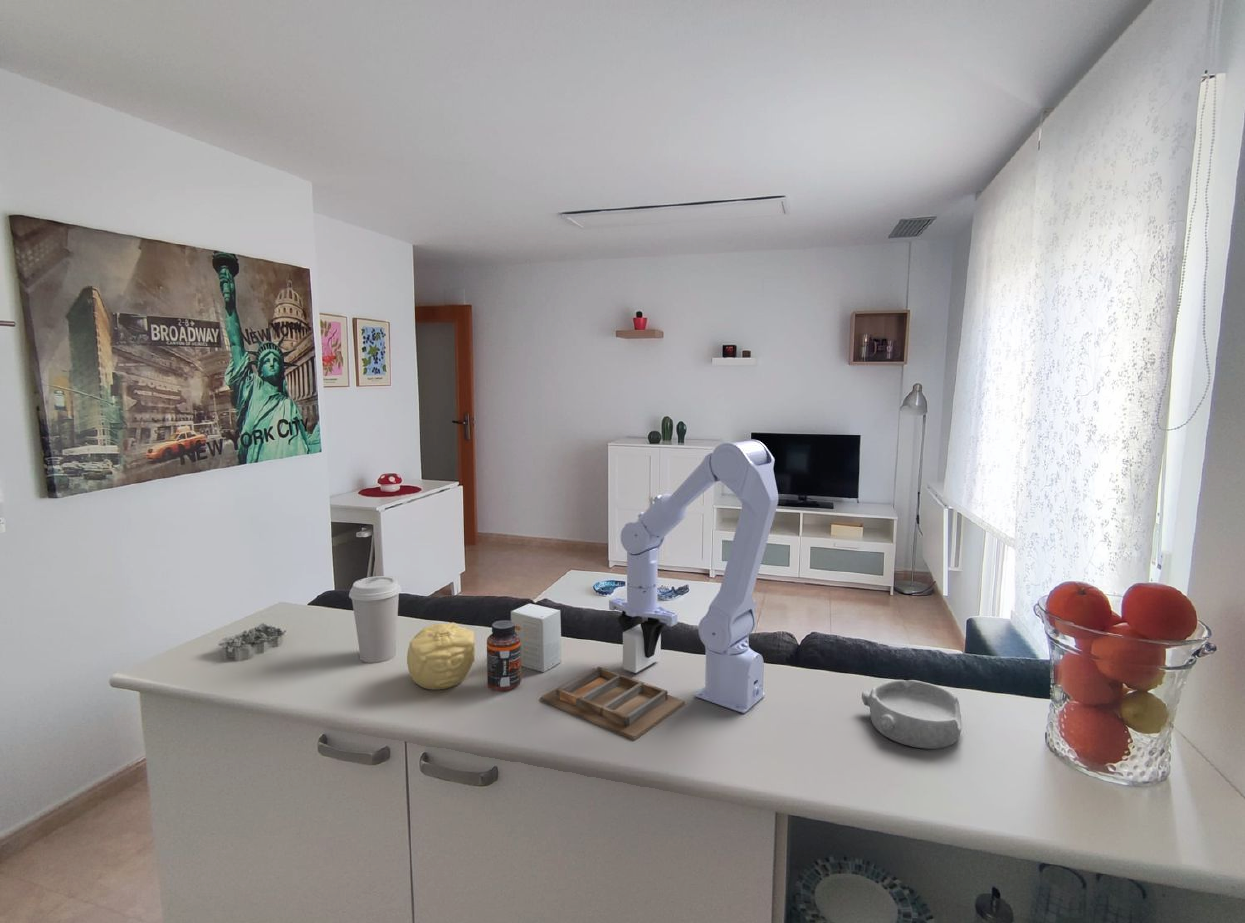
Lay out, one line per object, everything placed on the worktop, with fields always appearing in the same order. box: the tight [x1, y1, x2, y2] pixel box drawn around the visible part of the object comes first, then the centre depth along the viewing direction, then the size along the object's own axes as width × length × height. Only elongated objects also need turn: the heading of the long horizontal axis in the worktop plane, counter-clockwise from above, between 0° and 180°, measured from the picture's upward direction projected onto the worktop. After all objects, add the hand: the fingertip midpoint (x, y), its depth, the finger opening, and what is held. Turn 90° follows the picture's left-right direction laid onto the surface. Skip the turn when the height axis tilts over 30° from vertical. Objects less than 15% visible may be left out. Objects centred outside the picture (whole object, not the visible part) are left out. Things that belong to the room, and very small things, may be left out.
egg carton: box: [217, 622, 287, 662], centre depth 128 cm, size 11×8×4 cm
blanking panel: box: [622, 619, 662, 674], centre depth 119 cm, size 3×8×7 cm, turn 142°
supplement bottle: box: [486, 620, 522, 692], centre depth 112 cm, size 6×6×11 cm
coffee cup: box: [348, 575, 402, 664], centre depth 124 cm, size 10×10×15 cm
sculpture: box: [406, 622, 476, 691], centre depth 113 cm, size 12×12×11 cm
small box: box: [510, 603, 563, 673], centre depth 121 cm, size 8×6×10 cm
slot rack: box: [539, 666, 685, 741], centre depth 106 cm, size 20×14×2 cm
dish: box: [861, 679, 963, 750], centre depth 99 cm, size 14×14×5 cm
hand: (642, 653), depth 120 cm, fingers closed on blanking panel, 3 cm apart
